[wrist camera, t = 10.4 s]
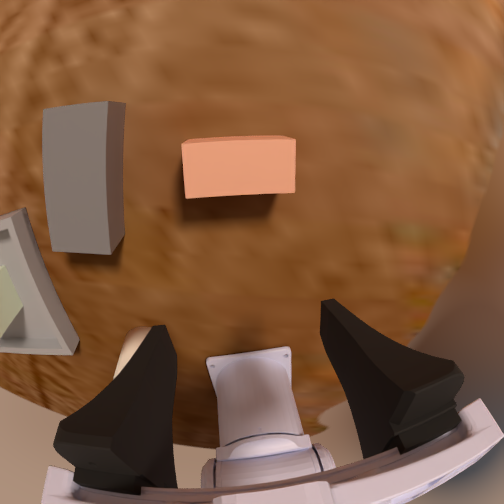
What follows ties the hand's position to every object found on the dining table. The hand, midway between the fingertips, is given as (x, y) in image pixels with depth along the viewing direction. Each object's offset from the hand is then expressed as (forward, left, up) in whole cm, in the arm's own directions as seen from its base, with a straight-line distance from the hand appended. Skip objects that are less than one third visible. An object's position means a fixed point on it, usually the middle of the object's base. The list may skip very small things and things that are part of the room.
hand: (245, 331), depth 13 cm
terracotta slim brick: (+6, -1, -10) cm, 11 cm away
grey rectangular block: (+7, +9, -10) cm, 15 cm away
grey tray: (-1, +23, -9) cm, 25 cm away
